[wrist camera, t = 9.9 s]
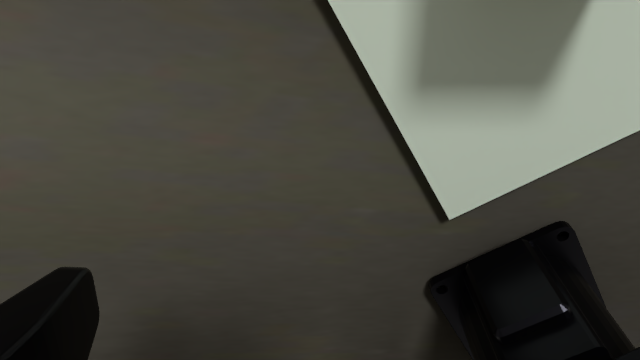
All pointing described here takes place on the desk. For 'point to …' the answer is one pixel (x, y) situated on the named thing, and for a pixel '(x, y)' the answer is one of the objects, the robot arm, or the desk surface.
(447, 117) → the sage mat
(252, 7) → the desk surface
